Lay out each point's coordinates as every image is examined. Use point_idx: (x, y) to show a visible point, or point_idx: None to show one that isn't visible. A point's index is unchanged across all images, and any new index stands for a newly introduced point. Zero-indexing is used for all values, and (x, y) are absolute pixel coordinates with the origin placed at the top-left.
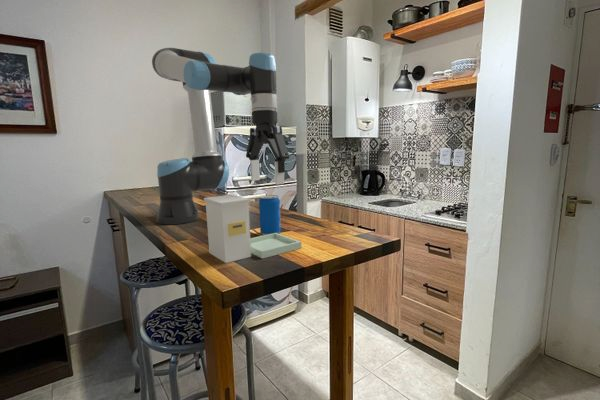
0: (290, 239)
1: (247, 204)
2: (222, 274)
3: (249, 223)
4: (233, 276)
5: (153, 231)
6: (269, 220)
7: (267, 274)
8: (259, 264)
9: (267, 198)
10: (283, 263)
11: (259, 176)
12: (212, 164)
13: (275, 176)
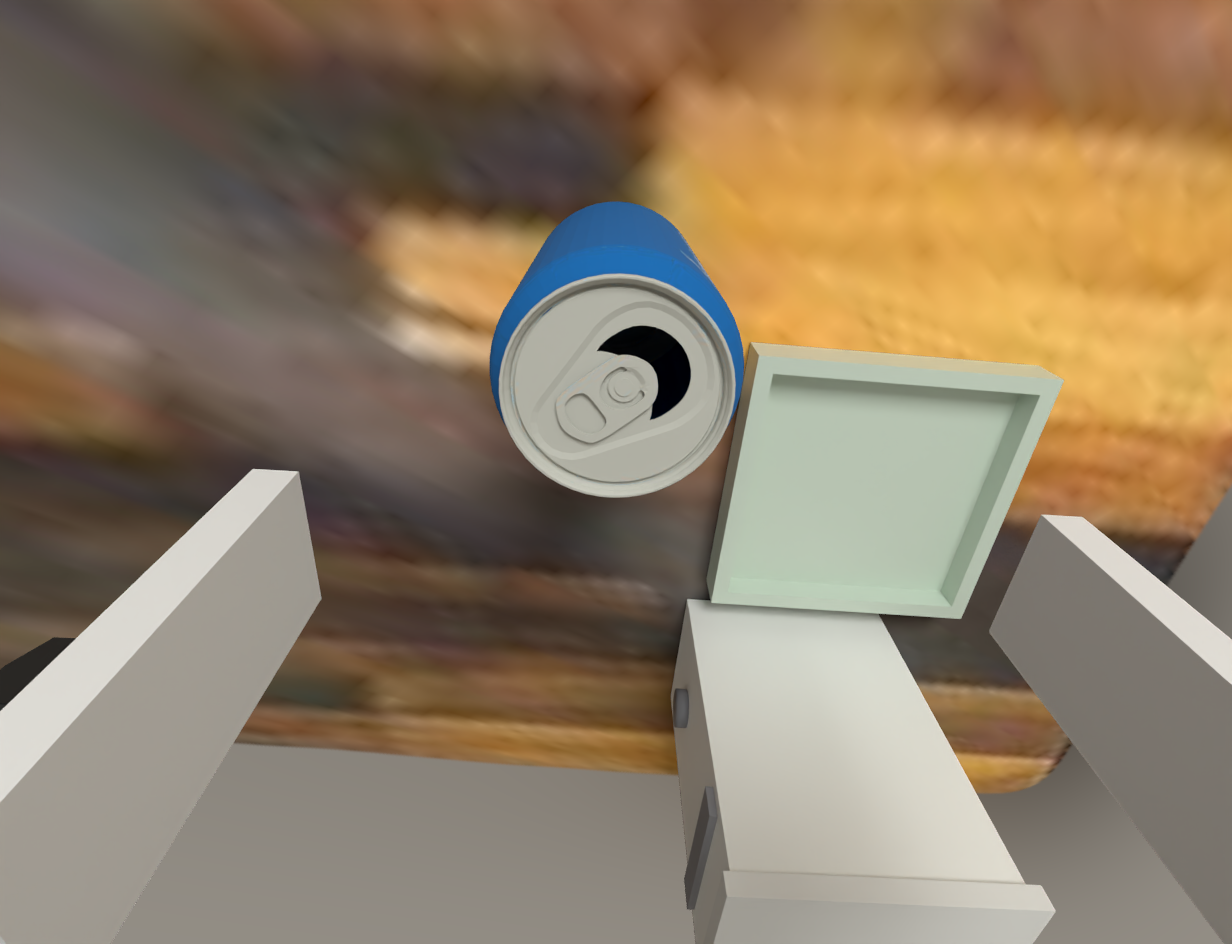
0: (960, 388)
1: (1017, 880)
2: None
3: (953, 752)
4: (975, 739)
5: None
6: (685, 379)
7: None
8: (981, 635)
9: (689, 470)
10: None
11: (266, 513)
12: None
13: (1073, 727)
